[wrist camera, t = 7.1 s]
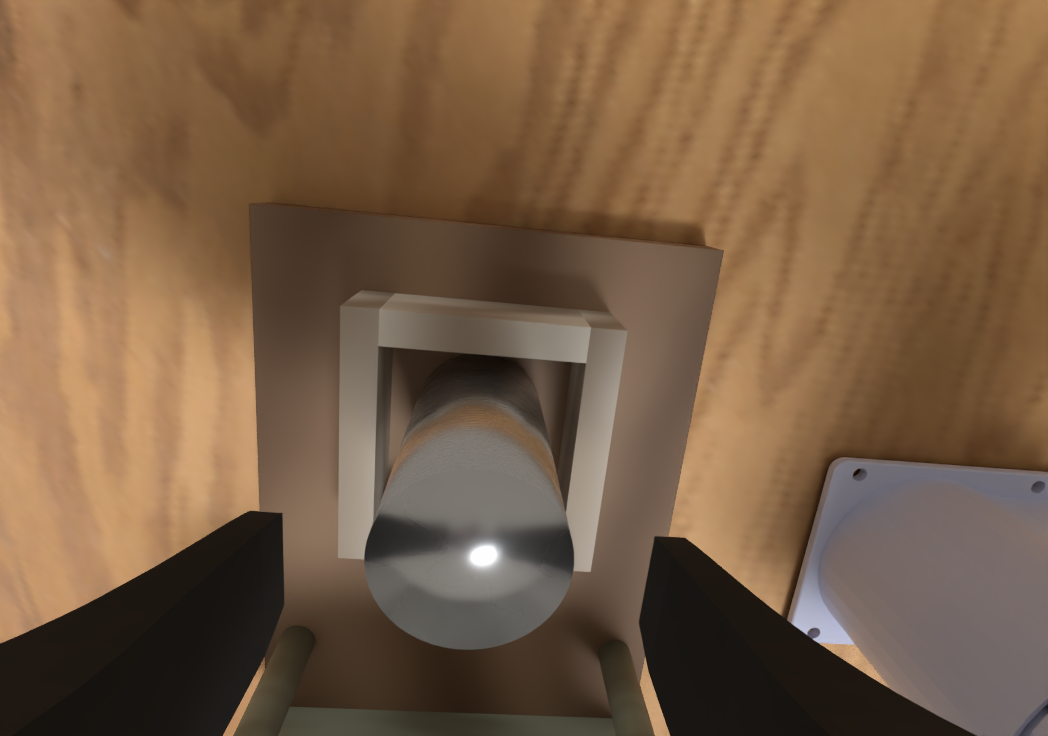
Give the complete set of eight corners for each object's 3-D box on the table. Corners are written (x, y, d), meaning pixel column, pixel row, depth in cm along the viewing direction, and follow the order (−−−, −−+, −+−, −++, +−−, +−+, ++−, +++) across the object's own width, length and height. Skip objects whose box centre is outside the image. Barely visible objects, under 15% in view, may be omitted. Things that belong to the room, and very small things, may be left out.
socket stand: (706, 246, 19) (938, 304, 9) (621, 703, 24) (708, 1053, 14) (268, 202, 18) (-11, 215, 8) (281, 690, 23) (122, 1058, 13)
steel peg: (550, 362, 18) (593, 484, 11) (529, 475, 19) (553, 659, 12) (424, 343, 18) (375, 455, 10) (409, 460, 19) (354, 639, 11)
